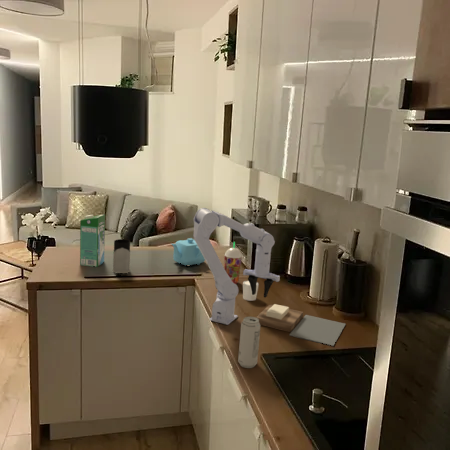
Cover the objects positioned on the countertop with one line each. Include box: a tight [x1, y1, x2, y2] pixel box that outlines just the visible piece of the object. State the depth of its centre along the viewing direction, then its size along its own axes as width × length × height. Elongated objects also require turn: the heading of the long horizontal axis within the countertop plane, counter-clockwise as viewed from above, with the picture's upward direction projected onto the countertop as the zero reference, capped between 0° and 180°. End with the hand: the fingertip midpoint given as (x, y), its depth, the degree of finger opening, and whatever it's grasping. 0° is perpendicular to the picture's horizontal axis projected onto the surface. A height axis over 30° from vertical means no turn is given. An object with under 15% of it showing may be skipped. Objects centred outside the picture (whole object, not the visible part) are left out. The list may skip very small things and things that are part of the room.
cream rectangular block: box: [266, 303, 290, 319], centre depth 187 cm, size 9×6×2 cm, turn 155°
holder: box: [111, 238, 131, 274], centre depth 235 cm, size 9×14×15 cm, turn 14°
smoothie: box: [223, 241, 243, 285], centre depth 226 cm, size 8×8×20 cm
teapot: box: [170, 237, 206, 266], centre depth 252 cm, size 18×16×14 cm
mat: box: [289, 314, 347, 347], centre depth 181 cm, size 22×16×1 cm
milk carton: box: [79, 214, 106, 268], centre depth 239 cm, size 9×9×25 cm
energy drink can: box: [237, 316, 262, 369], centre depth 150 cm, size 6×6×15 cm
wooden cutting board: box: [255, 304, 304, 333], centre depth 187 cm, size 16×14×2 cm
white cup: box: [242, 280, 259, 302], centre depth 208 cm, size 7×7×7 cm
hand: (259, 295), depth 189 cm, fingers open, 4 cm apart
